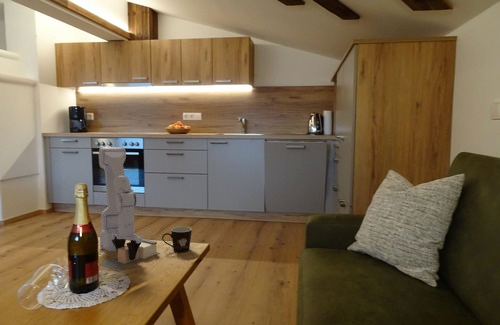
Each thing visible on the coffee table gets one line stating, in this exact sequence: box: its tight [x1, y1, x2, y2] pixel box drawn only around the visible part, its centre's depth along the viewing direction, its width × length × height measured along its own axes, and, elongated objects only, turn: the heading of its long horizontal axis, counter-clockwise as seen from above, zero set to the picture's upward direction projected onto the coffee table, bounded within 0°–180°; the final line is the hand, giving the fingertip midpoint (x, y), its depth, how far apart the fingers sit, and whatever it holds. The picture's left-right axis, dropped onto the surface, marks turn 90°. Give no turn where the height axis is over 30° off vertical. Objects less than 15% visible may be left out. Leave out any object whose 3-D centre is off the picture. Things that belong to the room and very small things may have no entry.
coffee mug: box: [161, 226, 193, 254], centre depth 149 cm, size 12×9×10 cm
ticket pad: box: [139, 238, 158, 260], centre depth 143 cm, size 9×7×5 cm
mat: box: [98, 251, 161, 272], centre depth 138 cm, size 11×22×1 cm, turn 150°
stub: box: [117, 245, 139, 263], centre depth 137 cm, size 4×7×5 cm, turn 150°
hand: (126, 258), depth 136 cm, fingers open, 6 cm apart
